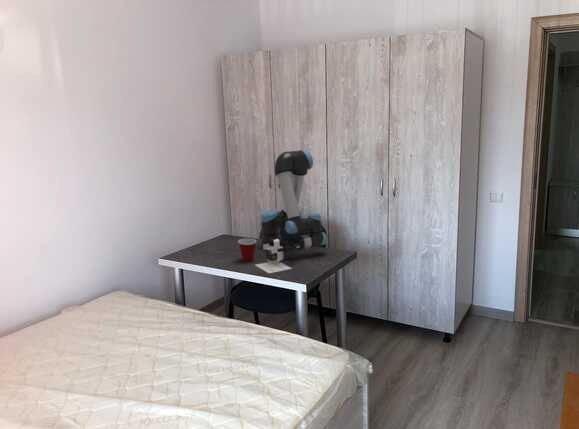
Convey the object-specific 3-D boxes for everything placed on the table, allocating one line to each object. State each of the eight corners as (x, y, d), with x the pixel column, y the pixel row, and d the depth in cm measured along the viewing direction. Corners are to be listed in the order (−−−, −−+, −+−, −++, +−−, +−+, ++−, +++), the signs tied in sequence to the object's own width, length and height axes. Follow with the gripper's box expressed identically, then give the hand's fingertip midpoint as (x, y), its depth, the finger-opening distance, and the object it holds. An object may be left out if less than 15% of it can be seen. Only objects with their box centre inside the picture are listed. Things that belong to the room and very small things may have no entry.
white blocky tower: (266, 261, 268) (265, 240, 265) (272, 257, 274) (271, 237, 272) (277, 262, 264) (276, 241, 262) (283, 258, 271) (282, 238, 268)
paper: (254, 265, 268) (254, 264, 268) (276, 260, 275) (276, 260, 275) (268, 273, 253) (268, 273, 253) (291, 268, 259) (291, 268, 259)
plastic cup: (248, 264, 271) (247, 244, 268) (235, 261, 278) (234, 241, 275) (261, 259, 279) (260, 239, 276) (248, 256, 286) (247, 237, 283)
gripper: (312, 253, 267) (276, 260, 257) (293, 244, 287) (259, 251, 276) (311, 240, 266) (276, 246, 255) (292, 232, 285) (258, 238, 275)
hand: (267, 249), depth 266 cm, fingers closed on white blocky tower, 10 cm apart
